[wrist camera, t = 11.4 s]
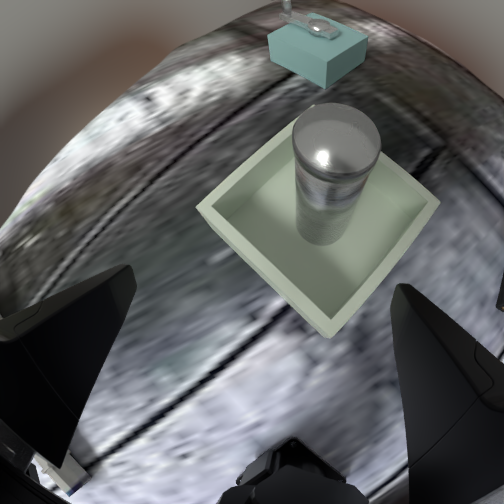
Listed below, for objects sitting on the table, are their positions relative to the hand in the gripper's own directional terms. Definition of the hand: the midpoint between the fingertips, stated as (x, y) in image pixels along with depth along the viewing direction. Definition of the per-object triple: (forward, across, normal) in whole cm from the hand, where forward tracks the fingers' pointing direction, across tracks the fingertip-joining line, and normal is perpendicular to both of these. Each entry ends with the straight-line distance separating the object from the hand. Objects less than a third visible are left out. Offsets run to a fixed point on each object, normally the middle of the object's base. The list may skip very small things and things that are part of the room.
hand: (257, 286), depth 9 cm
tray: (+15, -3, +4) cm, 16 cm away
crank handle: (+28, -2, -14) cm, 31 cm away
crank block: (+30, -3, -11) cm, 32 cm away
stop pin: (+14, -3, +4) cm, 15 cm away
